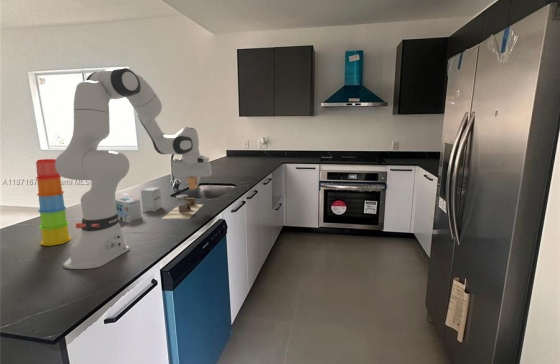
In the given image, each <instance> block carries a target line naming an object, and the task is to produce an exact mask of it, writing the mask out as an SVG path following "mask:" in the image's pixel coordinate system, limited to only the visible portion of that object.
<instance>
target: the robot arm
mask: <svg viewBox="0 0 560 364" xmlns="http://www.w3.org/2000/svg"><path fill="white" fill-rule="evenodd" d="M123 98H126V99H127V100H128V101H129V103H130V105H131V106H132V108H133V109H134V110H135V111H136V113H137V117H138V119H139V121H140V124H141V125H142V126H143V129H144V130H145V131H146V133H147V135H148V136H149V138H150V140H151V141H152V144H153V148H154V151H156V152H157V153H158V154H160V155H179V156H180V155H181V158H174V159H173V160H172V161H171V164H172V165H171V166H172V176H173V177H180V178H181V177H182V178H183V177H184V181H186V184H187V185H188V186H189V180H188V178H189V177H196V176H197V181H196V182H195V184H196V185H198V186H199V185H200V180H201V178H202V177H210V176H212V174H213V171H212V165H211V163H210V162H209V161H210V158H209V157H208V156H206V155H205V156H204V155H202V154H200V150H199V146H200V141H199V134H198V131H197V129H195V128H194V127H188V126H187V127H184V126H183V127H181V128H180V129H179V131H178V132H177V133H175V134H166V133H165V132H163V131H162V129H161V128H160V125H159V124H158V122H157V121H156V118H158V116H159V115H160V114H161V113H162V109H163V104H162V102H161V100H160V98H159V97H158V95H157V93H156V92H155V91H154V89H153V88H152V87H151V85H150V84H149V82H147V80H145V79H144V78H143V77H142V76H141V75H139V74H137V73H135V72H134V71H133V70H131V69H130V68H126V67H116V68H106V69H101V70H99V71H94V72H92V73H90V74H89V75H88V76H87V77H86V79H85V80H83V81H81V82H78V84H77V85H76V88H75V93H74V96H73V131H72V132H73V133H72V137H71V139H70V141H69V144H68V145H67V146H66V148H65V149H64V150H63V151H62V152H60V153H59V155H58V156H57V157H56V162H55V168H56V171H57V172H58V174H59V175H60V176H61V177H62V178H64V179H69V180H72V181H73V180H75V181H90V182H91V186H90V189H89V190H88V191H86V192H84V193H83V194H82V196H81V198H80V204H81V211H82V219H81V222H77V223H75V226H74V227H75V228H76V229H81V230H80V232H79V234H78V235H77V237H76V238H75V240H74V242H73V243H72V245H71V246H70V249H69V254H70V255H69V258H68V259H67V260H65V261H64V262H63V263H62V267H63V268H66V269H69V270H87V269H89V270H90V269H94V268H95V269H96V268H99V267H103V266H104V265H106V264H107V263H109V262H111V261H113V260H115V259H116V258H118V257H119V256H121V255H122V254H124V253H127V252H128V251H129V250H130V249H131V248H130V246H129V245H127V241H126V237H125V233H124V229H123V227H121V226H120V223H119V222H120V221H119V216H118V213H117V211H116V201H115V200H116V190H117V188H118V185H119V184H120V182H121V180H122V179H124V178H125V177H126V176H127V175H128V173H129V170H130V161H129V159H128V157H127V155H125V154H124V153H123V152H119V151H114V150H110V149H109V150H99V149H98V146H99V145H100V143H101V142H102V141H103V140H105V139H107V138H108V137H109V136H110V130H111V129H110V126H111V125H110V105H109V104H110V101H111V100H118V99H119V100H120V99H123ZM97 149H98V150H97Z"/></svg>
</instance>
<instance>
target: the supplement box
mask: <svg viewBox="0 0 560 364" xmlns="http://www.w3.org/2000/svg"><path fill="white" fill-rule="evenodd" d="M140 195H141V204H142V213H144V214H145V213H147V212H156V211H157V210H159V209H161V208H163V204H162V192H161V188H160V187H147V188H144V189H141V190H140Z"/></svg>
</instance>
